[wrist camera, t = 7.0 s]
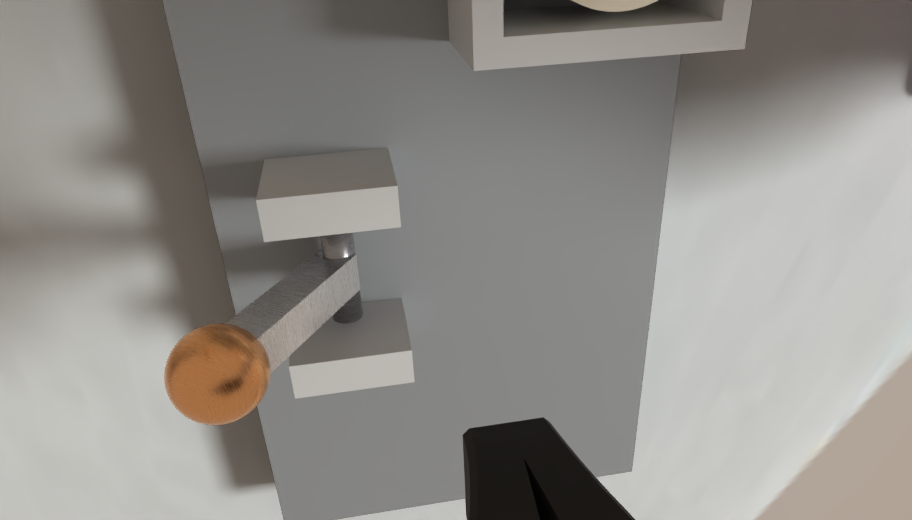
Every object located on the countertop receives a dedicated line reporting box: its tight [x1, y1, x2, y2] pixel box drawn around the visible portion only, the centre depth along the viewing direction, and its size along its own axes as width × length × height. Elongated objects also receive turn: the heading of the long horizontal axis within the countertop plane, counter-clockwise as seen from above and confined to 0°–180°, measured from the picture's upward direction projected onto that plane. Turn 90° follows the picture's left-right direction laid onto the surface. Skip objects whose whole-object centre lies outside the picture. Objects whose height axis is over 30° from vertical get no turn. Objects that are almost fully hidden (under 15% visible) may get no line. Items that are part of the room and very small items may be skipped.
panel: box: [162, 0, 752, 520], centre depth 16 cm, size 12×30×5 cm, turn 2°
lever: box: [164, 233, 363, 425], centre depth 15 cm, size 2×3×6 cm
